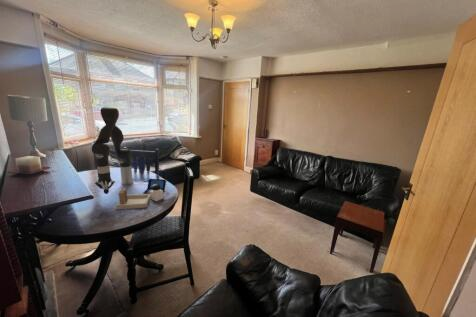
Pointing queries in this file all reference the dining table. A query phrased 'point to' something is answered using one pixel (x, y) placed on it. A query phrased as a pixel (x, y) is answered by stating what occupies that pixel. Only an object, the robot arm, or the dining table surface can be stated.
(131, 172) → the robot arm
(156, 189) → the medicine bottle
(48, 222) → the dining table surface
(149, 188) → the handheld game console
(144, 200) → the tray
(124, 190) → the slab
